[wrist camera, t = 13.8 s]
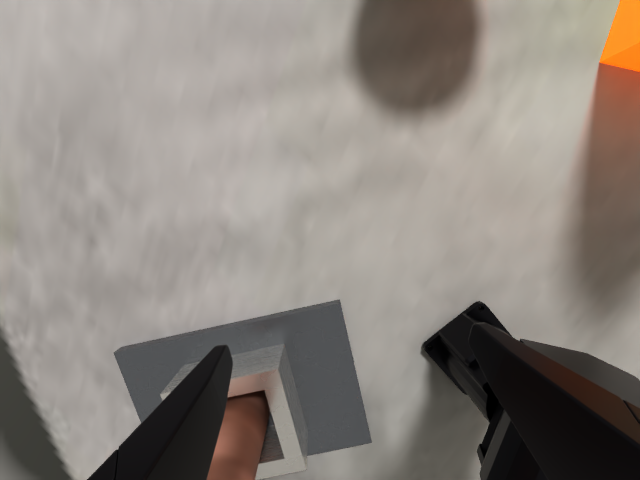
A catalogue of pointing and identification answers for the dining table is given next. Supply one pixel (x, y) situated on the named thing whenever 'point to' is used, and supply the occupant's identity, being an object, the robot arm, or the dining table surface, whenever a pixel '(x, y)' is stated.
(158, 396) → the dock
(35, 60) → the dining table surface
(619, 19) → the orange juice
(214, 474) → the peg
